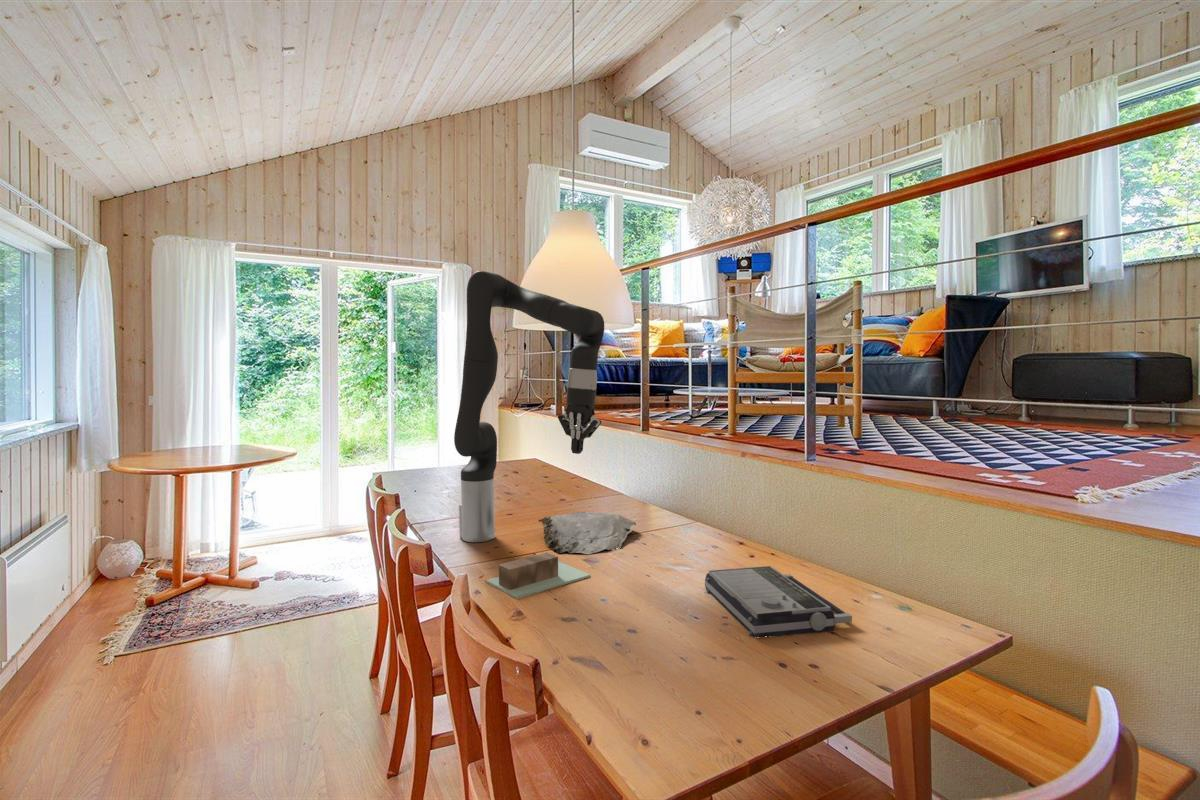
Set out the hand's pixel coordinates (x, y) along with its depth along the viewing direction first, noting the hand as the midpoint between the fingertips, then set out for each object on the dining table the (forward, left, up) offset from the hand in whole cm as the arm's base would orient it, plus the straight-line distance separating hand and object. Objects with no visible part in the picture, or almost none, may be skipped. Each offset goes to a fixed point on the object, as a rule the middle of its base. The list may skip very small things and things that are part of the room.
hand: (576, 453), depth 152 cm
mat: (+4, -20, -26) cm, 34 cm away
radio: (+54, -7, -27) cm, 61 cm away
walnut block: (+5, -17, -24) cm, 29 cm away
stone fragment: (-6, +13, -27) cm, 31 cm away
